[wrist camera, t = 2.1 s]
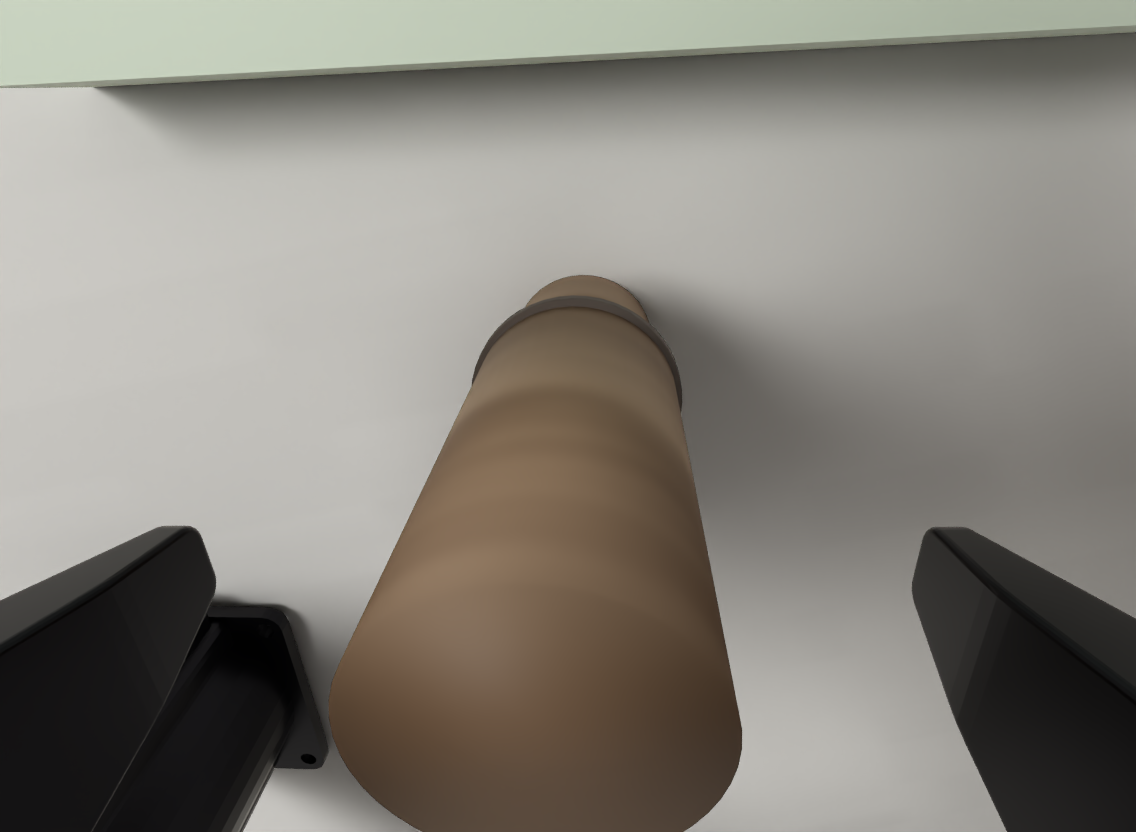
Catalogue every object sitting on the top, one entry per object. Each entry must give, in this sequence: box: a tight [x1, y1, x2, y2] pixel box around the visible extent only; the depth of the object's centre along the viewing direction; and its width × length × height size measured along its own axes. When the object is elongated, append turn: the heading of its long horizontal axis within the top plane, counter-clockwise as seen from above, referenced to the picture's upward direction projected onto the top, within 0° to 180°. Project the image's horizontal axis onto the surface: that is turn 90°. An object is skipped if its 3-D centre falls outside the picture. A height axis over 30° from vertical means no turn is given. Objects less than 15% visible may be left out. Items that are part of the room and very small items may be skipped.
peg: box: [329, 275, 742, 832], centre depth 10 cm, size 4×4×10 cm
